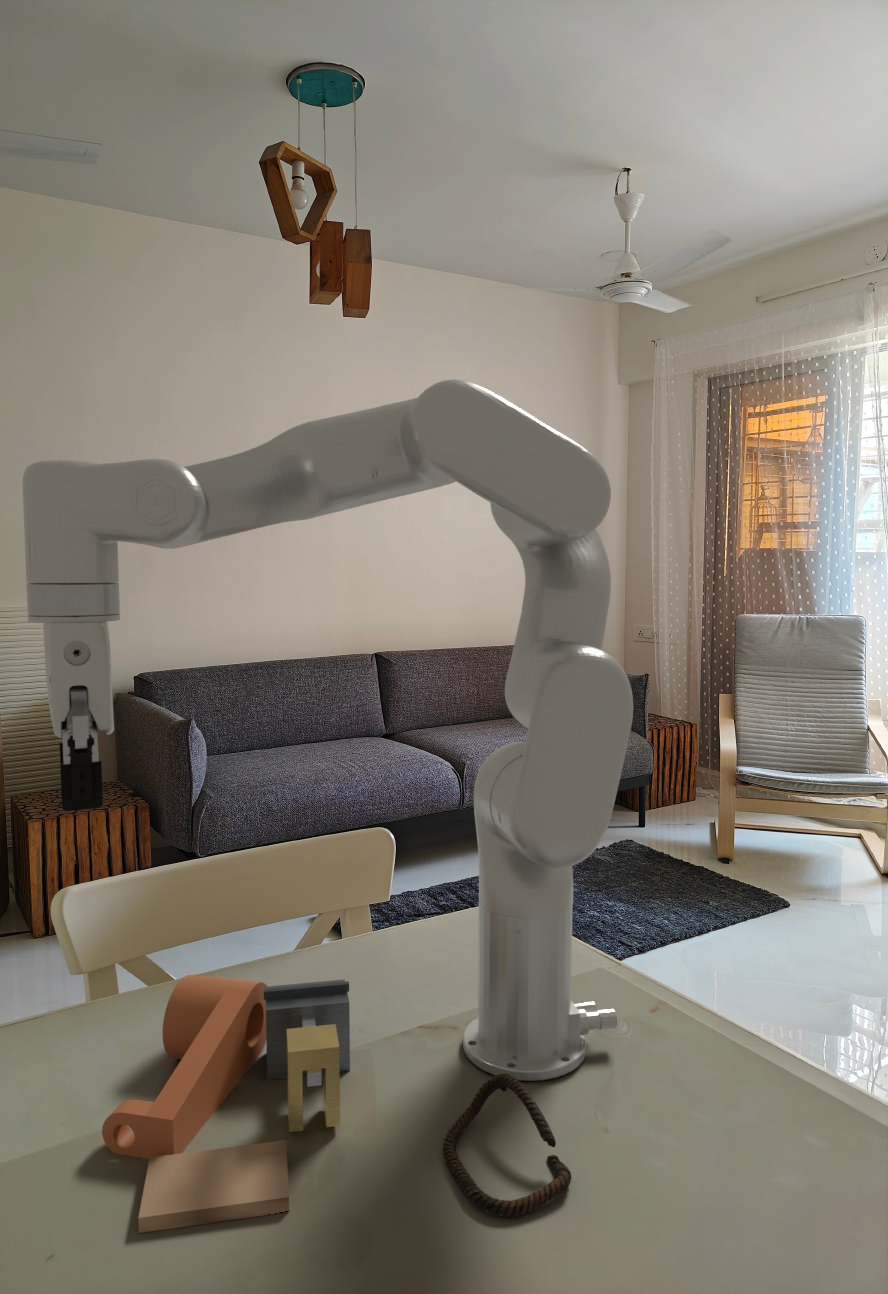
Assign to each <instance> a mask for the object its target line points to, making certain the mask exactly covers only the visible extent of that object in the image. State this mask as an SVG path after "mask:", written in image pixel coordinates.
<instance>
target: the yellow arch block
mask: <svg viewBox="0 0 888 1294" xmlns="http://www.w3.org/2000/svg"><path fill="white" fill-rule="evenodd" d="M314 1069H323V1074H322V1102H323V1112H324V1119H325V1127H326V1128H332V1127H340V1126H341V1092H340V1091H341V1089H340V1088H341V1086H340V1084H341V1083H340V1082H341V1081H340V1080H341V1079H340V1077H341V1076H340V1073H341V1072H340V1068H339V1042H338V1036H337V1030H336V1024H331V1025H321V1026H312V1027H302V1028H292V1029H287V1078H286V1079H287V1081H286V1084H287V1086H286V1087H287V1117H288V1119H287V1120H288V1133H292V1132H300V1131H304V1108H303V1107H304V1105H303V1103H304V1102H303V1101H304V1099H303V1098H304V1097H303V1095H304V1093H303V1092H304V1091H303V1090H304V1089H303V1085H304V1084H303V1076H302V1071H305V1070H314Z"/></svg>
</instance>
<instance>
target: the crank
mask: <svg viewBox="0 0 888 1294" xmlns="http://www.w3.org/2000/svg"><path fill="white" fill-rule="evenodd" d="M267 986H268V985H267V984H266V983H265V982H260V981H254V980H253V981H251V980H243V979H242V980H241V979H234V978H233V979H232V978H226V977H225V978H223V977H214V976H208V975H207V976H204V975H196V974H195V975H194V974H187V975H185V976H183V977H182V978H181V979H180V980H179V981H178V982H177V983H176V985H175V986H174V988H173V990H172V992H171V994H170V996H169V999H168V1001H167V1005H166V1008H165V1012H164V1015H163V1023H162V1043H163V1048H164V1051H165V1053H166V1054H167V1056H168V1057H170V1059H176V1060H180V1061H179V1063H178V1064H177V1066H176V1067H175V1069H174V1071H173V1072H172V1074H171V1075H170V1076H169V1079H168V1080H167V1081H166V1083H165V1084H164V1086H163V1088H162V1089H161V1091H160V1093H159V1094H158V1096H157V1097H156V1098H155V1100H154V1102H153V1101H148V1100H141V1099H128V1100H127V1099H126V1100H125V1101H123V1102H121V1104H119V1105H118V1106H117V1107H116V1108H115V1109H114V1110H113V1111H112V1113H111V1114H110V1115H108V1116H107V1118H106V1119H105V1120H104V1121H103V1123H102V1124H103V1125H102V1128H101V1135H102V1138H103V1141H104V1144H105V1145H106V1146H107V1148H108V1150H110V1151H111V1152H112V1154H118V1155H123V1156H131V1157H135V1158H136V1157H137V1158H141V1159H149V1158H150V1157H157V1156H165V1155H173V1154H181V1153H184V1151H185V1149H186V1148H187V1147H188V1146H189V1145H190V1143H191V1142H192V1141H193V1139H195V1137H196V1136H197V1135H198V1134H199V1132H200V1131H201V1130H202V1129H203V1127H204V1126H205V1125H206V1123H207V1122H208V1121H209V1119H210V1118H211V1117H212V1116H213V1115H214V1113H215V1112H216V1111H217V1109H218V1108H219V1107H220V1106H221V1104H222V1103H223V1102H224V1101H225V1100H226V1098H227V1097H228V1096H229V1094H230V1093H231V1092H232V1090H234V1088H235V1087H236V1086H237V1084H239V1082H240V1081H241V1080H242V1078H243V1077H244V1075H245V1074H246V1073H247V1072H248V1071H249V1069H250V1068H251V1067H252V1065H253V1064H254V1063H255V1062H256V1061H257V1059H258V1058H259V1057H260V1055H261V1054H262V1053H263V1050H264V1047H265V1045H266V1000H264V989H266V987H267ZM129 1128H130V1129H131V1130H132V1131H131V1130H130V1129H129Z"/></svg>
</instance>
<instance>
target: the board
mask: <svg viewBox="0 0 888 1294" xmlns="http://www.w3.org/2000/svg"><path fill="white" fill-rule="evenodd" d="M287 1149H288V1148H287V1140H279V1141H278V1140H277V1141H269V1142H268V1141H267V1142H261V1143H254V1144H244V1145H239V1146H238V1145H237V1146H236V1145H235V1146H230V1147H223V1148H222V1147H221V1148H213V1149H206V1150H205V1149H204V1150H197V1151H190V1152H189V1151H188V1152H182V1153H181V1154H173V1155H165V1156H157V1157H150V1158H149V1160H148V1165H147V1169H146V1175H145V1181H144V1185H143V1191H142V1197H141V1201H140V1208H139V1213H138V1217H137V1219H138V1234H141V1233H142V1234H143V1233H150V1232H157V1231H164V1230H170V1229H178V1228H185V1227H191V1226H192V1227H193V1226H199V1225H207V1224H213V1223H220V1222H226V1221H235V1220H241V1219H248V1218H255V1217H256V1218H257V1217H263V1216H268V1214H270V1215H276V1214H275V1213H277V1214H280V1213H279V1212H284V1213H286V1212H285V1211H289V1212H290V1195H289V1193H290V1192H289V1172H288V1153H287Z"/></svg>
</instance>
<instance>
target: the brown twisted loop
mask: <svg viewBox="0 0 888 1294" xmlns="http://www.w3.org/2000/svg"><path fill="white" fill-rule="evenodd" d="M508 1089H509V1090H510V1091H511V1092H513V1093H514V1094H515V1095H516V1096H517V1098H518V1099H519V1100H520V1101H521V1102H522V1104H523V1106H524V1107H525V1108H526V1111H528V1113H529V1115H530V1118H531V1120H532V1122H533V1124H534V1126H535V1127H536V1129H537V1132H538V1134H539V1136H540V1138H541V1139H542V1141H543V1142H546V1143H547V1146H548V1147H549V1146H550V1147H551V1148H556V1145H557V1141H556V1138H555V1136H554V1134H553V1132H552V1130H551V1128H550V1125H549V1123H548V1121H547V1120H546V1117H545V1116H544V1114H543V1112H542V1111H541V1109H540V1108H539V1107H540V1106H539V1105H538V1104H537V1103H536V1100H534V1098H533V1096H532V1095H531V1094H530V1093H529V1090H528V1089H526V1088H525V1086H524V1085H523V1083H521V1082H520V1080H517V1079H516V1078H514V1077H512V1076H511V1075H509V1074H506V1073H503V1074H498V1075H494V1076H492V1077H491V1078H488V1079H487V1080H486V1082H485V1083H483V1084H482V1085H481V1087H480V1088H479V1089H478V1092H477V1093H476V1094H475V1095H474V1098H473V1099H472V1101H471V1102H470V1103H469V1106H468V1107H467V1108H466V1109H465V1111H463V1113H462V1115H460V1116H459V1117H458V1118H459V1119H456V1120H455V1123H453V1124H452V1126H451V1128H450V1129H449V1130H448V1133H446V1137H445V1138H444V1142H443V1143H442V1144H443V1148H442V1153H443V1158H444V1161H445V1164H446V1166H447V1168H448V1169H449V1171H450V1173H451V1175H452V1176H453V1178H454V1179H455V1180H456V1182H457V1184H458V1186H459V1187H460V1188H461V1190H462V1191H463V1192H464V1194H465V1195H466V1196H467V1197H468V1198H469V1199H470V1201H471V1202H472V1203H473V1204H474V1205H475V1206H476V1207H477V1208H480V1209H481V1210H482V1211H485V1212H488V1213H489V1214H492V1215H495V1216H499V1217H502V1216H503V1217H506V1218H507V1217H508V1218H509V1217H512V1218H513V1217H517V1216H523V1215H524V1214H528V1213H530V1212H533V1211H535V1210H537V1209H538V1208H541V1207H542V1206H544V1205H546V1204H547V1203H548V1202H550V1201H551V1200H553V1199H555V1198H556V1197H558V1195H560V1194H562V1193H564V1192H565V1191H566V1190H567V1189H568V1188H569V1187H570V1184H571V1181H572V1173H571V1171H570V1169H569V1167H568V1166H566V1164H565V1163H564V1162H562V1161H561V1160H560V1159H559V1157H558V1155H556V1154H551V1155H548V1156H547V1157H546V1158H547V1160H546V1161H547V1163H548V1165H549V1167H550V1168H551V1171H553V1174H554V1175H555V1177H556V1178H554V1179H553V1180H552V1181H550V1182H548V1183H547V1184H545V1185H543V1186H542V1187H541V1188H539V1189H536V1190H535V1191H534V1192H531V1193H530V1194H528V1195H525V1196H523V1197H519V1198H516V1199H515V1198H514V1199H512V1200H510V1199H509V1200H508V1199H507V1200H505V1199H499V1198H497V1197H493V1196H490V1195H488V1193H486V1192H484V1191H483V1190H482V1189H481V1188H480V1187H479V1186H478V1185H477V1184H476V1183H475V1181H474V1179H473V1178H472V1177H471V1175H470V1174H469V1172H468V1171H467V1169H466V1168H465V1167H464V1165H463V1162H462V1161H461V1160H460V1158H459V1156H458V1153H457V1151H456V1150H457V1149H456V1148H457V1143H458V1141H459V1139H460V1137H461V1135H462V1134H463V1132H464V1131H465V1129H467V1128H468V1127H469V1125H470V1124H471V1122H473V1121H474V1120H475V1119H476V1117H477V1116H478V1115H479V1113H480V1112H481V1110H482V1108H483V1107H484V1105H485V1103H486V1101H487V1100H488V1098H489V1097H491V1095H492V1094H493V1093H495V1092H496V1091H497V1090H501V1091H502V1092H503V1093H506V1092H507V1091H508Z"/></svg>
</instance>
